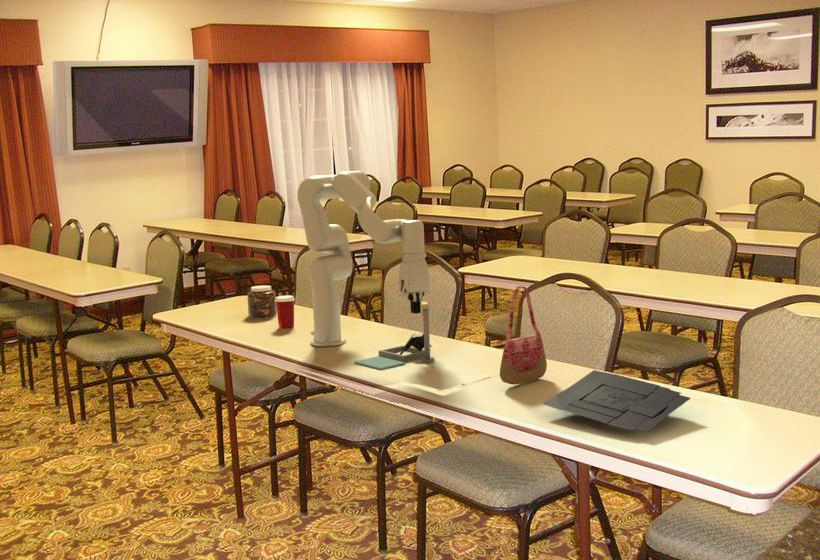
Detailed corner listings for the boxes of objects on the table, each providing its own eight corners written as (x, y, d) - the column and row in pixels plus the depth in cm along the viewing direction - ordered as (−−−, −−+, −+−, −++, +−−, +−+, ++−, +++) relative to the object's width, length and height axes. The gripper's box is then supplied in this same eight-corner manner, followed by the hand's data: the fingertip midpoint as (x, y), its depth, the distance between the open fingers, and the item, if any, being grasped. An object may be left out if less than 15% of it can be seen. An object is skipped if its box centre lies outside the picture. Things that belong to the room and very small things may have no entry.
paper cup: (300, 330, 342) (298, 295, 340) (287, 334, 335) (285, 298, 333) (285, 329, 346) (283, 294, 344) (272, 333, 340) (270, 297, 338)
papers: (643, 445, 203) (642, 431, 202) (541, 413, 224) (540, 400, 223) (695, 404, 219) (695, 391, 217) (595, 378, 240) (594, 366, 239)
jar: (278, 319, 371) (276, 284, 369) (275, 324, 359) (273, 288, 357) (250, 320, 370) (248, 285, 368) (247, 325, 358) (244, 289, 356)
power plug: (399, 349, 293) (418, 326, 287) (417, 362, 294) (437, 338, 288) (396, 358, 288) (415, 334, 282) (414, 371, 289) (434, 347, 283)
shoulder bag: (506, 387, 246) (504, 290, 242) (499, 385, 248) (496, 289, 244) (547, 376, 256) (545, 283, 252) (540, 375, 258) (538, 282, 255)
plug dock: (378, 356, 291) (376, 305, 289) (403, 351, 298) (401, 300, 296) (417, 365, 276) (415, 311, 274) (443, 359, 283) (441, 306, 281)
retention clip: (420, 315, 292) (420, 300, 291) (428, 314, 292) (428, 299, 292) (422, 323, 278) (421, 307, 277) (430, 322, 278) (429, 307, 277)
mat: (354, 363, 283) (354, 361, 283) (378, 358, 289) (378, 356, 289) (381, 370, 272) (380, 368, 272) (405, 364, 279) (405, 362, 278)
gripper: (423, 255, 292) (425, 308, 294) (388, 259, 282) (391, 315, 285) (438, 256, 286) (440, 310, 289) (403, 260, 277) (405, 317, 279)
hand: (415, 312), depth 287 cm, fingers closed
